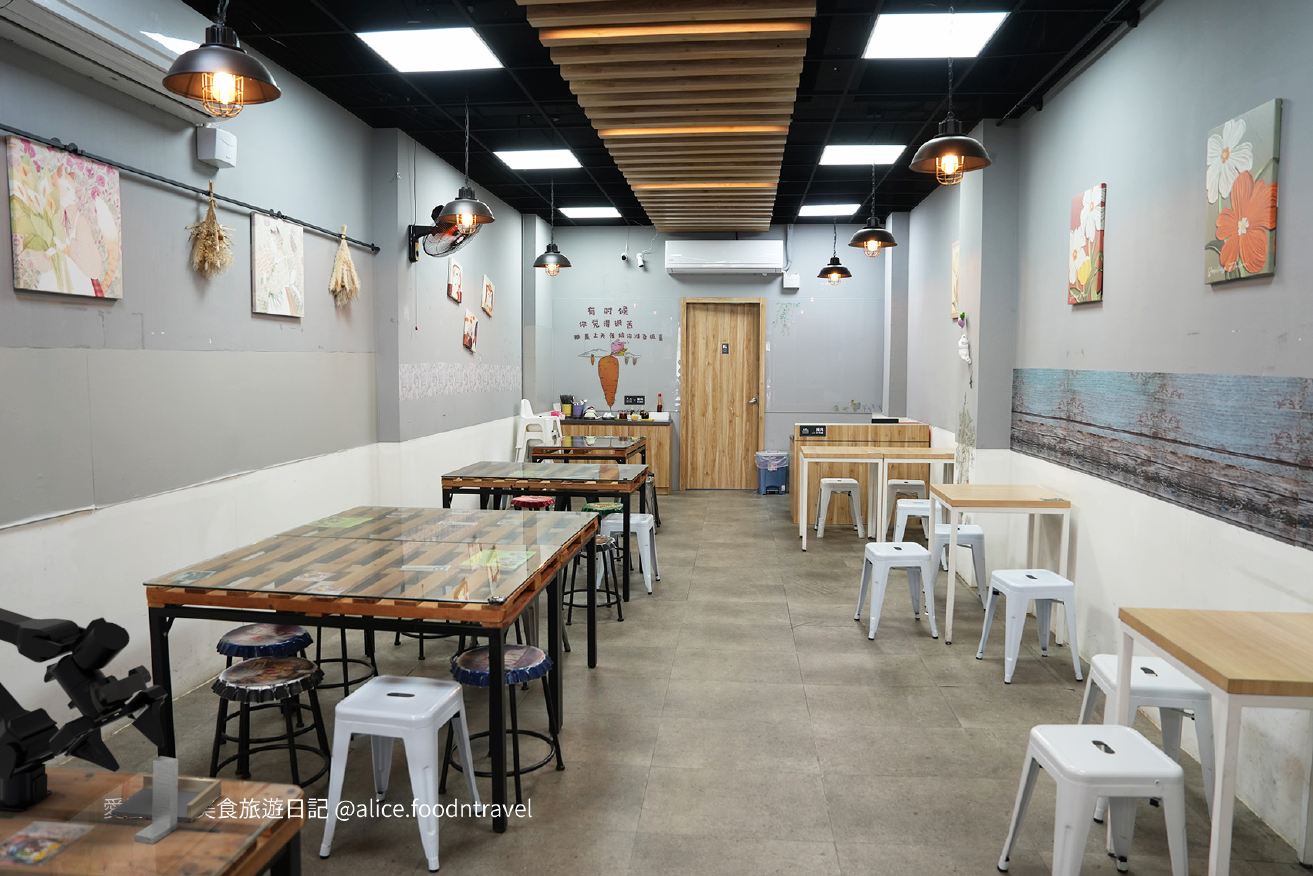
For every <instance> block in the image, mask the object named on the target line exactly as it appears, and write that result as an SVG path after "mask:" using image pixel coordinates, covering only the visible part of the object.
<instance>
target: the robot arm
mask: <svg viewBox="0 0 1313 876" xmlns="http://www.w3.org/2000/svg"><path fill="white" fill-rule="evenodd" d="M130 638H131V637H130V634H129V631H127V629H126V628H125V627H122V626H121V625H119V624H117V623H116V622H115V623H114V622H112V621H111V622H109V621H107V620H106V619H105V618H104V617H99V618H96V619H93V620H91V621H90V622H89V623H88V625H87V626H86V627H82V626H79V624H77V623H76V622H75V621H73V620H71V619H61V618H42V619H40V618H34V617H30V616H26V615H24V614H21V613H17V612H14V611H11V610H7V609H4V608H1V607H0V641H3V642H6V643H8V644H11V645H13V646H15V647H16V649H17V651H18V653H19V654H20V655H21V656H23V657H25V658H27V659H28V660H30V661H32V662H34V663H38V664H39V663H40V664H41V663H44V662H47V661H52V660H53V659H56V658H59V657H61V658H60V659H59V660H58V661H57V662H55V663H52V664H48V665H46V671H45V674H44V676H43V682H44V683H45V684H46V683H50V682H52V681H55V680H56V681H57V683H58V684H59V686H60V687H61V688H62V690H63V691H64V692H65V694H66V695H67V696H68V698H69V699H70V701H69V703H68V704H67V707H68V709H69V710H70V711H71V710H74V709H75V708H77V710H78V711H79V712H80V714H81V715H82V716H80V717H78V718H75V719H73V720H70V721H68V722H65V723H64V725H62V726H61V727H60V728H59V727H58V726H57V725H58V721H56V720H54V719H53V718H52V717H51V716H50V715H49V713H48V712H47V710H46V709H44V708H43V707H40V708H39V707H38V708H36V709H34V710H27V709H25V708H24V707H23V706H22V705H21V704H20V703H19V702H18V701H17V700H16V698H15V697H14V696H13V695H12V694H11V692H10V691H9V690H8V689H7V688H6V687H5V685H3V684H2V682H1V681H0V811H13V812H25V811H28V810H29V809H31V808H32V807H33V806H35V805H37V804H38V803H40V802H42V801H43V800H44V799H47V798H48V797H50V796H51V795H52V794H53V790H51V789H50V790H48V773H46V762H49V761H50V760H51V761H52V760H54V759H55V757H58V756H60V755H64V757H65V758H67V757H70V756H72V757H74V758H77V759H81V760H83V761H86V762H89V763H92V764H95V765H96V766H99V767H101V768H104V769H106V770H108V771H111V772H113V773H115V772H117V771H119V769H120V764H119V763H118V761H117V759H116V758H115V756H114V755H113V754H112V752H111V750H110V749H109V748H108V746H107V745H106V744H105V742H104V741H103V739H102V728H103V727H106V726H108V725H110V724H113V723H114V722H116V721H119V720H121V719H123V718H125V717H127V718H128V719H131V720H133V721H132V723H131V724H130V725H132V726H133V727H134V728H135V729H136V730H137V731H139V732H140V733H141V734H142V735H143V736H144V737H146V739H148V740H149V741H150V742H151V743H152V744H153V745H154V746H156V747H158V749H161V748H162V747H164V746H165V744H166V742H165V739H164V733H163V729H162V725H161V720H160V708H161V706H162V705H163V704H164V703H165V698H166V697H167V696H168V695H169V694H168V693H167V691H166V689H165V688H164V687H163V686H162V685H159V684H154V685H152V686H149V687H148V685H147V684H148V683H149V682H151V680H152V676H151V673H150V671H149V670H148V669H147V667H146V666H145V665H143V664H142V665H139V666H136V667H134V668H131V669H129V670H128V672H127V674H128V675H127V676H126V677H123V678H121V679H118V678H117V677H116V676H115V675H113V674H111V675H108V676H106V674H104V672H103V671H102V670H101V669H104V668H106V667H108V665H110V663H111V662H112V661H114V659H115V658H116V657H117V656H118V655H119V654H120V653H121V652H122V651H123V650H125V648H126V647H127V646H128V645H129V642H130ZM137 692H138V693H137ZM135 693H136V694H135ZM134 694H135V696H134V697H133V695H134ZM129 700H130V701H129ZM127 701H129V702H127ZM126 702H127V703H126Z"/></svg>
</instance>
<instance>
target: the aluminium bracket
mask: <svg viewBox="0 0 1313 876" xmlns="http://www.w3.org/2000/svg"><path fill="white" fill-rule="evenodd" d="M152 775H153V803H152V819H151V824H149V825H148V826H146V827H145V828H143V829H141V830H139V832H137V833H135V834H134V841H135V842H140V843H144V844H148V845H149V844H150V845H154V844H155V843H157V842H159V841H160V840H162V839H164V838H166V837H167V836H168V835H170V834H171V833H172V832H174V831H175V830H177V829H178V821H177V801H178V777H179V759H178V758H173V757H169V756H164V755H163V756H162V755H160V756H157V757H156V758H154V759H153V761H152Z"/></svg>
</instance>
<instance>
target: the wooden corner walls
mask: <svg viewBox="0 0 1313 876" xmlns="http://www.w3.org/2000/svg"><path fill="white" fill-rule="evenodd" d="M199 778H200V777H188V776H178V791H189V792H201V794H199V795H198V796H197V797H196V798H195V799H193V800H192V801H191V802H190V803H189V804H187V822H186V823H192V822H193V821H195V819H197V818H198V817H197V813H198V814H199V816H200V815H202V813H203V812H205V809H206V807H208V806H207V805H209V804H211V803H212V802H213V800H215V799H216V797H219V793H220V792H221V793H220V794H221V795H222V781H223V780H222V779H215V778H203V779H199ZM142 780H143V783H142V788H150V789H153V774H149V773H148V774H147V773H146V774H145V775H143V778H142ZM219 798H220V797H219ZM210 802H211V803H210ZM211 805H212V804H211ZM204 806H206V807H204ZM208 808H209V807H208ZM201 809H202V810H201ZM206 810H207V809H206ZM200 811H202V813H200ZM193 816H195V817H193ZM196 817H197V818H196ZM192 818H194V819H193V820H192ZM191 820H192V821H191ZM190 821H191V822H190Z"/></svg>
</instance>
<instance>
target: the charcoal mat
mask: <svg viewBox="0 0 1313 876" xmlns="http://www.w3.org/2000/svg"><path fill="white" fill-rule="evenodd" d="M220 793H221V794H220ZM220 793H219V796H220V795H221V796H222V791H221V792H220ZM199 794H201V792H189V791H178V801H177V822H183V823H188V822H187V804H189V803H190V802H191V801H192V800H193V799H195V798H196V797H197V796H198V795H199ZM216 798H217V797H216ZM152 803H153V789H150V788H143V787H142V788H141V789H140V790H138V791H137V792H135V793H134V794H133V795H132V796H130V797H129V798H127V799H126V800H124V801H123V802H122V803H120V805H118V806H117V807H115V808H114V809H113V810H111V813H110V816H111V815H114V816H113V817H118V816H127V817H126V818H130V817H142V818H141V819H143V818H148V819H147V820H152ZM210 803H211V802H210ZM209 805H210V804H209ZM209 805H207V806H209ZM210 806H211V805H210ZM210 806H209V807H210ZM204 807H206V806H204ZM206 808H207V807H206ZM207 809H208V808H207ZM201 810H202V809H201ZM200 813H201V814H202V813H203V812H202V811H200ZM115 815H116V816H115ZM199 816H200V815H199V814H198V813H197V818H198V817H199ZM193 817H195V816H193ZM193 819H194V818H192V820H193ZM192 820H191V821H192ZM194 820H195V819H194ZM194 820H193V821H194ZM191 821H190V822H189V823H192V822H193V821H192V822H191Z"/></svg>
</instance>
